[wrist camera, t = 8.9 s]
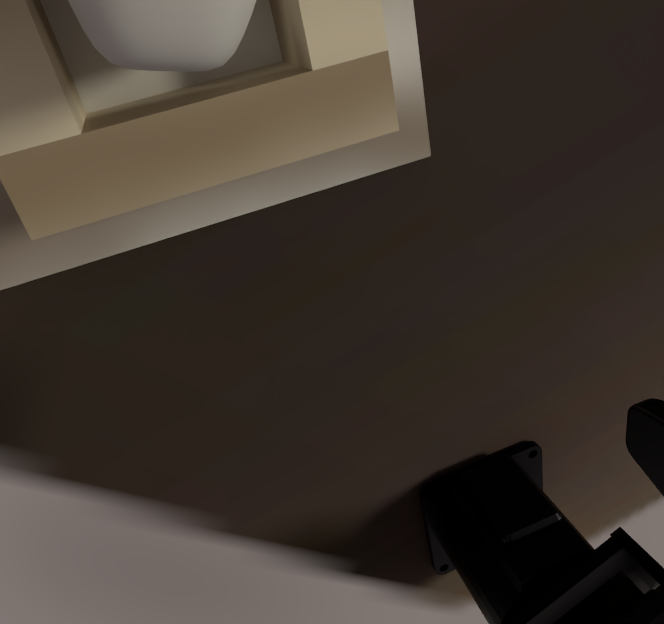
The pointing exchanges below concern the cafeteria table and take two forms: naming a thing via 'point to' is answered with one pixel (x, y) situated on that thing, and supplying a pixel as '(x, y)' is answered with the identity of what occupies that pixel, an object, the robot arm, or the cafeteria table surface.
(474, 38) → the cafeteria table surface
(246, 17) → the eye dropper bottle
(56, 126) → the collar block
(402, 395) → the cafeteria table surface
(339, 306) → the cafeteria table surface
